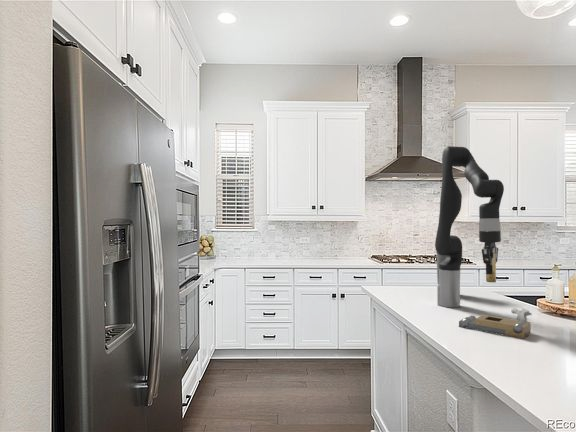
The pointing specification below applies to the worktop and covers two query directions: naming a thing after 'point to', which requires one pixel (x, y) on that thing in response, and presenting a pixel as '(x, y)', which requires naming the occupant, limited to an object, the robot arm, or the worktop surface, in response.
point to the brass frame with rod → (498, 325)
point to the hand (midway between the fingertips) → (490, 273)
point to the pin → (493, 277)
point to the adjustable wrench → (520, 313)
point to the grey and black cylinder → (439, 260)
